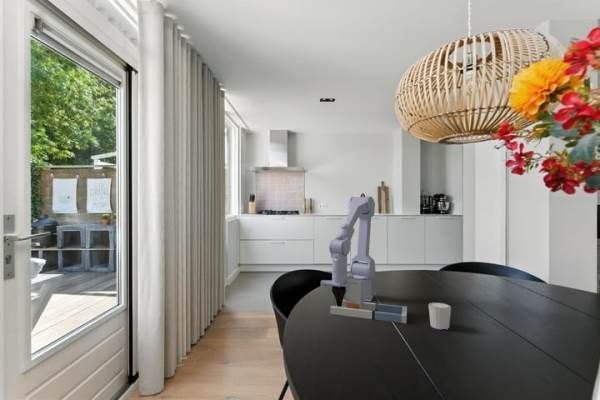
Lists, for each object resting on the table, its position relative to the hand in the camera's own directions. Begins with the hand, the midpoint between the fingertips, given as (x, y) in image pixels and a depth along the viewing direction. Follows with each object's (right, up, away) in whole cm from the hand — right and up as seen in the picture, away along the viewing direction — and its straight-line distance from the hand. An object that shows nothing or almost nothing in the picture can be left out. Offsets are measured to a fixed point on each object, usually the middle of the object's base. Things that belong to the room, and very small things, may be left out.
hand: (339, 306), depth 120 cm
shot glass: (+31, -2, -16) cm, 35 cm away
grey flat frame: (+10, -1, -4) cm, 11 cm away
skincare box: (+6, -2, -2) cm, 6 cm away
